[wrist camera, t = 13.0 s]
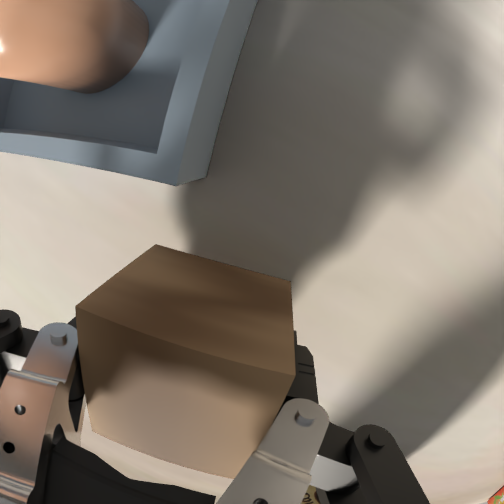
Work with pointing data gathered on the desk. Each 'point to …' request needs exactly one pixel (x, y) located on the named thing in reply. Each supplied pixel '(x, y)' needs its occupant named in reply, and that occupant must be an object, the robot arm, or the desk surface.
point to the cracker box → (497, 497)
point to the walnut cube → (187, 358)
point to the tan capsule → (71, 42)
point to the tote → (140, 99)
